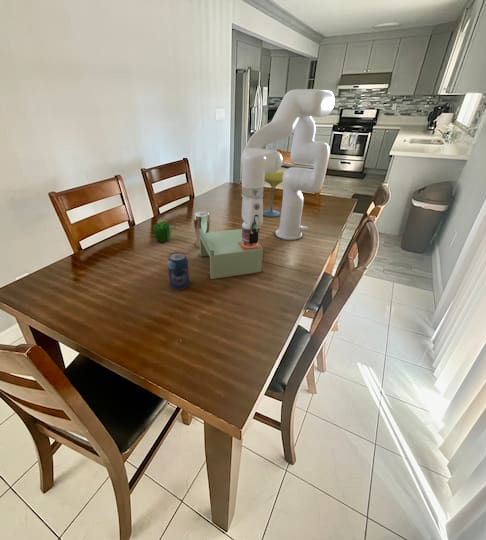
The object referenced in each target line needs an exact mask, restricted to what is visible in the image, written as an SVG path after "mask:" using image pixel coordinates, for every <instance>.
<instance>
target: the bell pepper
mask: <svg viewBox="0 0 486 540" xmlns="http://www.w3.org/2000/svg"><path fill="white" fill-rule="evenodd" d="M152 232H153V236H154V238H155V241H157V242H158V243H164V242H169V241H170V239H171V237H172V226H171V223H168V222H167V220H166V219H165V220H162V221H160V222H159V223H158V222H157V223H154V224H153V226H152Z"/></svg>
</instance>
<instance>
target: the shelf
mask: <svg viewBox="0 0 486 540" xmlns="http://www.w3.org/2000/svg"><path fill="white" fill-rule="evenodd" d="M199 237H200V248H199V255H200V257H208V256H209V276H210V277H209V278H210V279H211V280H215V279H221V278H222V279H223V278H229V277H235V276H242V275H250V274H256V273H262V270H263V269H262V267H263V256H264V248H263V247H262V246H261V245H260V244H259V243H258V245H257V246H256V247H254V248H246V247H244V246H242V244H241V239H242V228H238V229H227V230H219V231H218V230H217V231H211V232H210V231H209V233H204V232H203V230H202V229H199Z"/></svg>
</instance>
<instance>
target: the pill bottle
mask: <svg viewBox="0 0 486 540" xmlns="http://www.w3.org/2000/svg"><path fill="white" fill-rule="evenodd" d="M252 225H255V223H252ZM255 227H256V226H255ZM255 227H253V229H254V228H255ZM241 229H242V239H241V244H242V246H244V247H246V248H254V247H256V246H257V245H258V244H259V242H258V243H254V244H250V243H249V235H250V233H251V231H250V226H249V225H248V224H247V222H246V218H245V217H244V223H243V224H241Z"/></svg>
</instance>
